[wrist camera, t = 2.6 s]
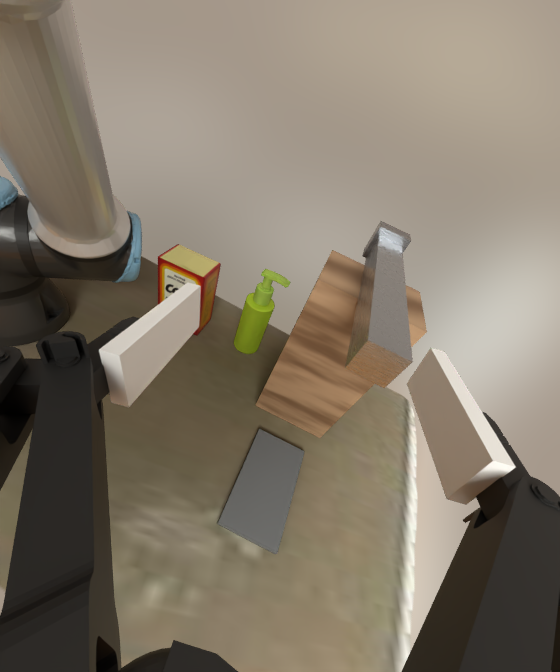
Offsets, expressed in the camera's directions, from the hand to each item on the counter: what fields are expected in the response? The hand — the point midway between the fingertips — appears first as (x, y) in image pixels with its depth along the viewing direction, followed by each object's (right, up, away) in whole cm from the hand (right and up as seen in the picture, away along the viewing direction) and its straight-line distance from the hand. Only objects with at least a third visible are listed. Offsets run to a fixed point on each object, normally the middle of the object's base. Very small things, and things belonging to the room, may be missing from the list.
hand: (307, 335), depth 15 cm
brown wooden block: (+1, -14, +39) cm, 42 cm away
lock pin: (+10, +5, +17) cm, 20 cm away
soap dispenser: (-9, -2, +46) cm, 47 cm away
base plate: (-4, -24, +27) cm, 36 cm away
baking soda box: (-24, +4, +46) cm, 52 cm away
